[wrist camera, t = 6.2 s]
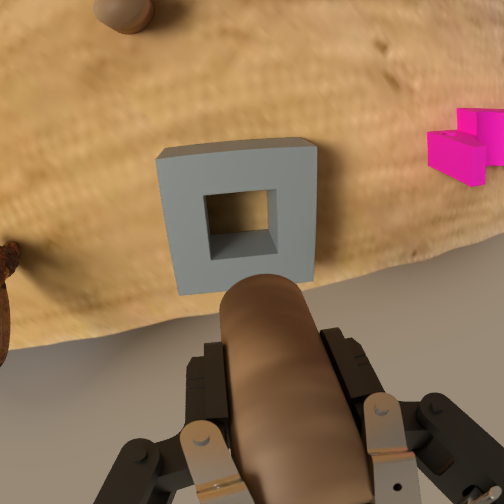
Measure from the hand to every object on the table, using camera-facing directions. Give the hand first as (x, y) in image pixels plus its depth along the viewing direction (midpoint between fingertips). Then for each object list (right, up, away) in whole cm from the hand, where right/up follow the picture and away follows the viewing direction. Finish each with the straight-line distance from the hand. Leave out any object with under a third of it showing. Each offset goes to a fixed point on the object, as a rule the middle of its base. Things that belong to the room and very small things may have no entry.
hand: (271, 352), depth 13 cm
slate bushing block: (-2, +8, +17) cm, 19 cm away
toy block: (+25, +18, +16) cm, 35 cm away
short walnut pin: (-11, +24, +8) cm, 28 cm away
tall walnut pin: (0, +1, +2) cm, 3 cm away
